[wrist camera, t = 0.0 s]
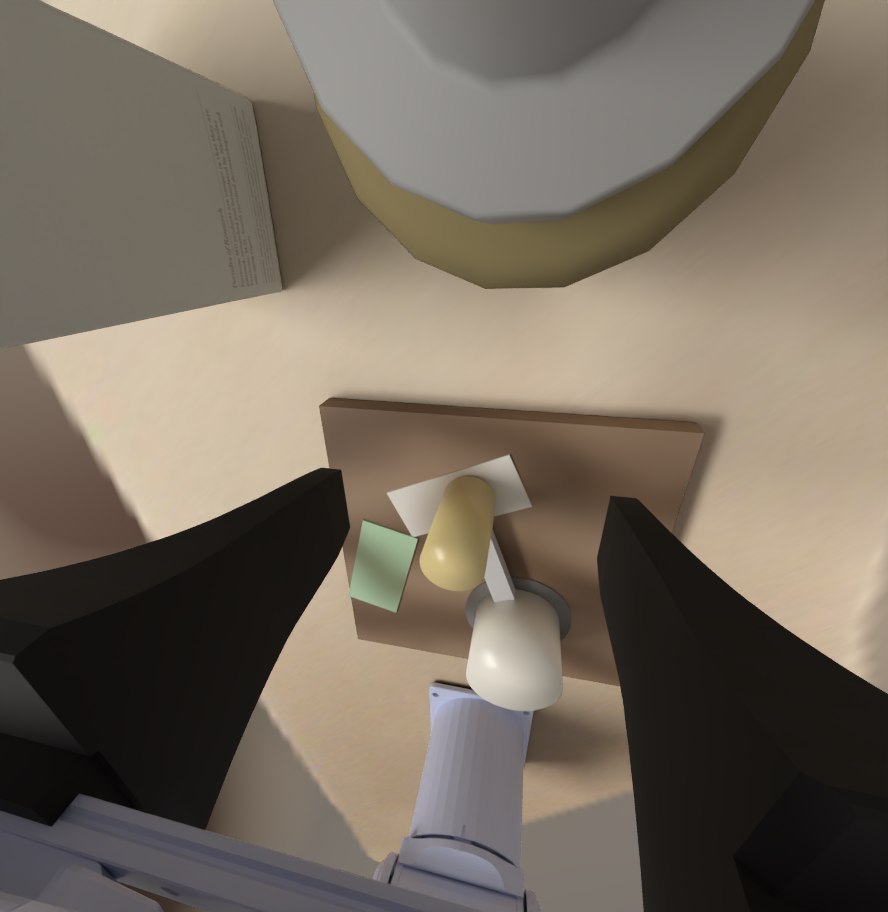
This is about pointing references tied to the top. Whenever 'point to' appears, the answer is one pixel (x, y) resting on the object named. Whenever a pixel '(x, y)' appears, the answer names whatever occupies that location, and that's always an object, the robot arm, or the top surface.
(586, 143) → the squeeze bottle
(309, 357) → the top surface
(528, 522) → the brown flat square board
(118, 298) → the supplement box
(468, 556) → the peg lever
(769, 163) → the top surface
